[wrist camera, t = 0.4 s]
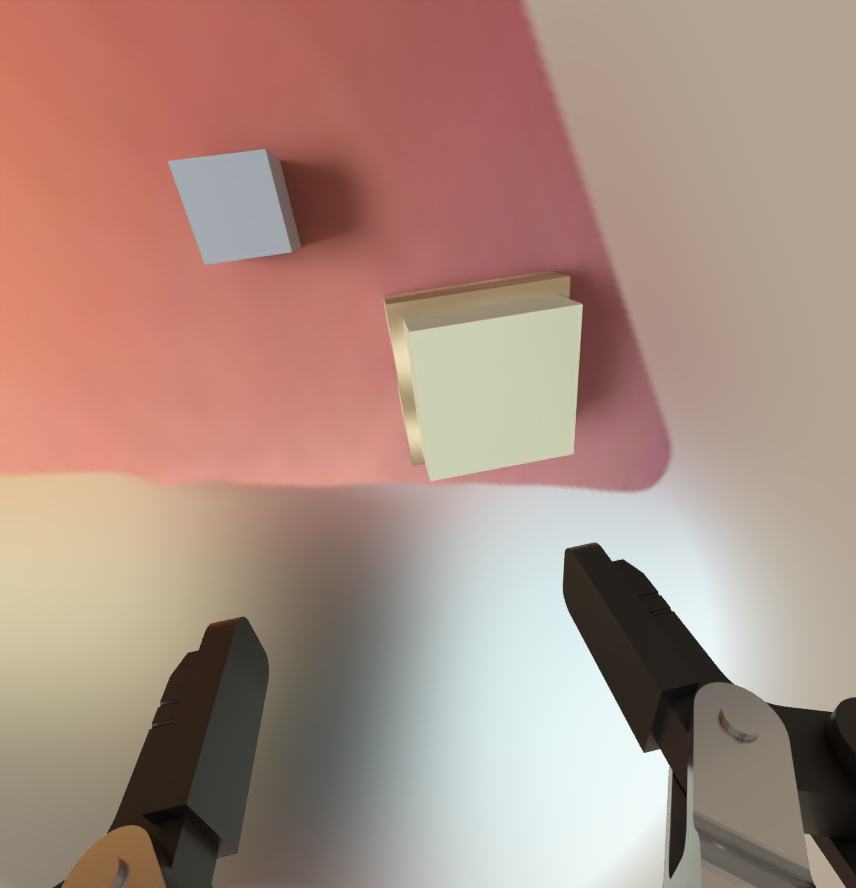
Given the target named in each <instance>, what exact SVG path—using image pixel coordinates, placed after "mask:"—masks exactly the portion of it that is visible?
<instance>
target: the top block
mask: <svg viewBox="0 0 856 888" xmlns="http://www.w3.org/2000/svg"><path fill="white" fill-rule="evenodd" d="M582 308H583V304H581V303H579V302H576V301H573V300H571V299H568V298H566V297H563V296H560V295H558V294H551V295H545V296H539V297H532V298H526V299H520V300H513V301H507V302H501V303H494V304H488V305H482V306H476V307H469V308H463V309H457V310H450V311H444V312H438V313H431V314H425V315H419V316H412V317H406V318H403V324H404V331H405V338H406V345H407V352H408V358H409V365H410V372H411V379H412V385H413V392H414V399H415V406H416V413H417V419H418V426H419V433H420V440H421V446H422V453H423V457H424V461H425V464H426V468H427V471H428V474H429V478H430V481H434V480H439V479H444V478H450V477H455V476H460V475H466V474H471V473H476V472H481V471H487V470H492V469H497V468H502V467H508V466H513V465H518V464H524V463H529V462H534V461H539V460H545V459H550V458H555V457H560V456H566V455H571V454H574V438H575V421H576V405H577V389H578V373H579V357H580V340H581V324H582Z"/></svg>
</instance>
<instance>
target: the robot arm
mask: <svg viewBox="0 0 856 888" xmlns="http://www.w3.org/2000/svg"><path fill="white" fill-rule="evenodd" d="M563 594H564V599H565V603H566V605H567V608H568V611H569V613H570V615H571V617H572V618H573V621H574V622H575V624H576V626H577V628H578V630H579V632H580V634H581V636H582V637H583V639H584V641H585V643H586V645H587V647H588V649H589V651H590V653H591V654H592V656H593V658H594V660H595V662H596V664H597V666H598V668H599V670H600V671H601V673H602V675H603V677H604V679H605V681H606V683H607V685H608V686H609V688H610V690H611V692H612V694H613V696H614V698H615V700H616V701H617V703H618V705H619V707H620V709H621V711H622V713H623V715H624V717H625V718H626V720H627V722H628V724H629V726H630V728H631V730H632V732H633V733H634V735H635V737H636V739H637V741H638V743H639V745H640V747H641V748H642V750H643V752H644V753H646V752H650V751H654V750H658V749H661V751H662V753H663V755H664V756H665V758H666V760H667V762H668V764H669V765H670V767H669V778H668V800H667V820H666V842H665V862H664V879H663V887H662V888H816V886H815V885H814V882H813V880H812V877H811V873H810V869H809V863H808V856H807V850H806V843H805V837H804V833H806V834H810V835H811V836H812V838H813V839H814V841H815V842H816V844H817V845H818V847H819V848H820V850H821V851H822V853H823V854H824V855H825V857H826V859H827V860H828V861H829V863H830V864H831V866H832V867H833V869H834V870H835V872H836V873H837V875H838V876H839V878H840V879H841V881H842V882H843V884H844V885H845V887H846V888H856V697H855V698H849V699H846V700H844V701H842V702H841V703H840V704H839V705H838V706H837V708H836V709H835V711H834V712H827V711H818V710H809V709H801V708H792V707H784V706H778V705H774V704H770V703H767V702H764V701H763V700H762V699H761V698H759V697H758V696H756V695H755V694H754V693H752V692H750V691H748V690H746V689H744V688H742V687H739V686H737V685H734V684H733V683H732V682H731V681H730V680H729V679H728V678H727V677H726V676H725V675H724V674H723V673H722V672H721V671H720V670H719V668H718V667H717V666H716V664H715V663H714V662H713V661H712V659H711V658H710V657H709V656H708V654H707V653H706V652H705V651H704V650H703V648H702V647H701V645H700V644H699V643H698V642H697V640H696V639H695V638H694V637H693V636H692V634H691V633H690V632H689V630H688V629H687V628H686V627H685V625H684V624H683V623H682V621H681V620H680V619H679V618H678V616H677V615H676V614H675V613H674V611H671V609H670V606H669V605H668V604H667V603H666V601H665V600H664V599H663V598H662V596H659V594H658V591H657V590H656V589H655V587H654V586H653V585H652V584H651V582H650V581H649V580H648V578H647V577H646V576H645V575H644V573H642V572H641V571H639V570H638V569H637V568H635V567H634V566H632V565H631V564H629V563H628V562H626V561H625V560H623V559H622V560H617V561H613V562H612V561H611V560H610V558H609V557H608V555H607V554H606V553H605V551H604V550H603V549H602V547H601V546H600V545H599V544H597V543H590V544H585V545H581V546H576V547H571V548H567V549H566V550H565V558H564V575H563ZM268 678H269V664H268V658H267V655H266V652H265V650H264V648H263V646H262V645H261V643H260V641H259V639H258V637H257V636H256V634H255V632H254V630H253V628H252V626H251V625H250V623H249V621H248V620H247V618H245V617H239V618H234V619H230V620H225V621H220V622H216V623H212V624H210V625H209V626H208V627H207V629H206V631H205V634H204V637H203V639H202V642H201V645H200V648H199V651H194V652H189V653H187V655H186V656H185V657H184V659H183V660H182V661H181V663H180V664H179V665H178V667H177V668H176V669H175V671H174V672H173V673H172V675H171V676H170V678H169V681H168V683H167V686H166V689H165V691H164V694H163V696H162V699H161V702H160V703H161V706H160V707H158V709H157V712H156V714H155V717H154V720H153V722H152V729H150V730H149V732H148V735H147V737H146V740H145V743H144V745H143V748H142V750H141V753H140V755H139V758H138V761H137V763H136V766H135V768H134V771H133V773H132V776H131V779H130V781H129V784H128V786H127V789H126V791H125V794H124V797H123V799H122V802H121V805H120V807H119V810H118V812H117V815H116V817H115V819H114V821H113V823H112V825H111V827H110V829H109V831H108V833H107V834H106V835H105V836H103V837H102V838H101V839H99V840H98V841H97V842H96V843H94V844H93V845H92V846H91V847H90V848H89V849H88V850H87V851H86V852H85V853H84V854H83V856H82V857H81V858H80V859H79V860H78V862H77V863H76V864H75V865H74V867H73V868H72V870H71V871H70V873H69V874H68V876H67V878H66V879H65V880H64V881H62V882H61V883H59V884H58V885H56V886H55V887H53V888H213V886H212V884H211V883H212V879H213V874H214V869H215V864H216V859H217V858H220V857H224V856H229V855H232V854H237V851H238V846H239V841H240V835H241V830H242V824H243V818H244V812H245V807H246V802H247V796H248V790H249V785H250V779H251V773H252V768H253V762H254V757H255V751H256V746H257V740H258V735H259V729H260V724H261V718H262V712H263V707H264V701H265V696H266V690H267V685H268Z"/></svg>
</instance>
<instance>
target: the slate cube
mask: <svg viewBox="0 0 856 888" xmlns="http://www.w3.org/2000/svg"><path fill="white" fill-rule="evenodd" d="M168 163H169V166H170V169H171V171H172V174H173V177H174V180H175V183H176V185H177V188H178V191H179V194H180V197H181V199H182V202H183V205H184V208H185V211H186V213H187V216H188V219H189V222H190V225H191V227H192V230H193V233H194V236H195V239H196V241H197V244H198V247H199V250H200V253H201V255H202V258H203V261H204V264H205V265H207V264H214V263H221V262H228V261H235V260H242V259H249V258H256V257H263V256H270V255H277V254H284V253H291V252H293V251H295V250H297V249H299V248H300V247H301V244H300V240H299V236H298V232H297V228H296V223H295V219H294V215H293V211H292V207H291V203H290V199H289V195H288V191H287V187H286V183H285V179H284V175H283V171H282V166H281V162H280V160H279V159H278V158H277V157H275V156H274V155H273V154H271V153H270V152H269V151H267V150H266V149H262V150H254V151H246V152H238V153H230V154H221V155H213V156H205V157H197V158H189V159H181V160H173V161H168Z"/></svg>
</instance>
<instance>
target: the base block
mask: <svg viewBox="0 0 856 888" xmlns="http://www.w3.org/2000/svg"><path fill="white" fill-rule="evenodd" d="M551 294H558V295H560V296H563V297H566V298H568V299H569V296H570V276H568V275H564V274H561V273H557V272H553V271H545V272H538V273H532V274H525V275H519V276H512V277H506V278H499V279H493V280H486V281H480V282H473V283H467V284H460V285H453V286H447V287H440V288H434V289H427V290H421V291H414V292H408V293H401V294H395V295H388V296H383V299H384V305H385V311H386V317H387V323H388V329H389V335H390V341H391V347H392V353H393V359H394V365H395V371H396V377H397V383H398V389H399V395H400V401H401V408H402V414H403V420H404V426H405V432H406V438H407V444H408V449H409V453H410V457H411V462H412V466H416V465H422V464H425V461H424V457H423V453H422V446H421V440H420V433H419V426H418V419H417V413H416V406H415V399H414V392H413V385H412V379H411V372H410V365H409V358H408V352H407V345H406V338H405V331H404V324H403V318H406V317H412V316H419V315H425V314H431V313H438V312H444V311H450V310H457V309H463V308H469V307H476V306H482V305H488V304H494V303H501V302H507V301H513V300H520V299H526V298H532V297H539V296H545V295H551Z"/></svg>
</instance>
